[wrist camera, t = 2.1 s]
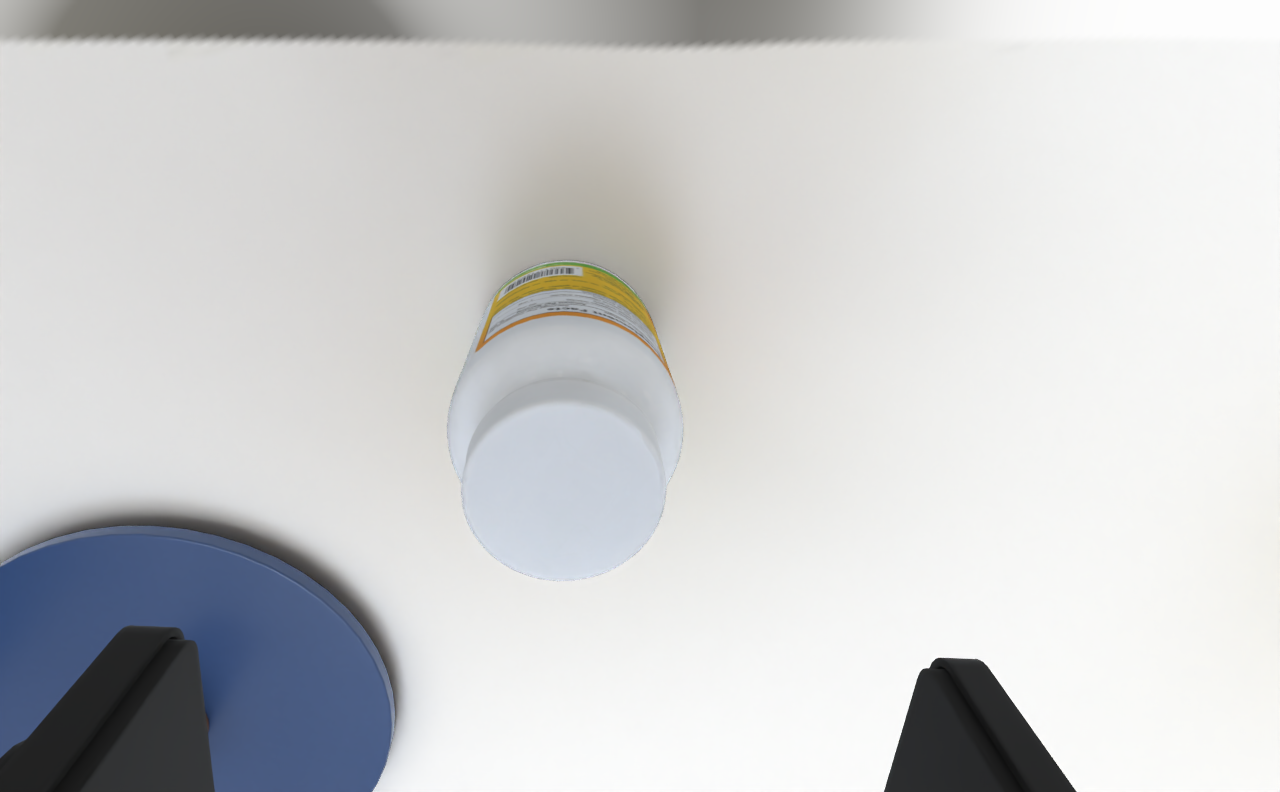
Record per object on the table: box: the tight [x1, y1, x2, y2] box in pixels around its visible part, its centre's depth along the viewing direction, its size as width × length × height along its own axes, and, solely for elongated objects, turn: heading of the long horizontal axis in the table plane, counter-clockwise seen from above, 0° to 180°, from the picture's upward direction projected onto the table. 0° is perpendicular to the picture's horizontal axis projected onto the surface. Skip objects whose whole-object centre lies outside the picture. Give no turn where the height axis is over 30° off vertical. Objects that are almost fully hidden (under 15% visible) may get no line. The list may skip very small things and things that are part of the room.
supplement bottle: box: [447, 260, 683, 581], centre depth 19 cm, size 5×5×10 cm
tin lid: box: [0, 526, 395, 792], centre depth 25 cm, size 15×15×6 cm
